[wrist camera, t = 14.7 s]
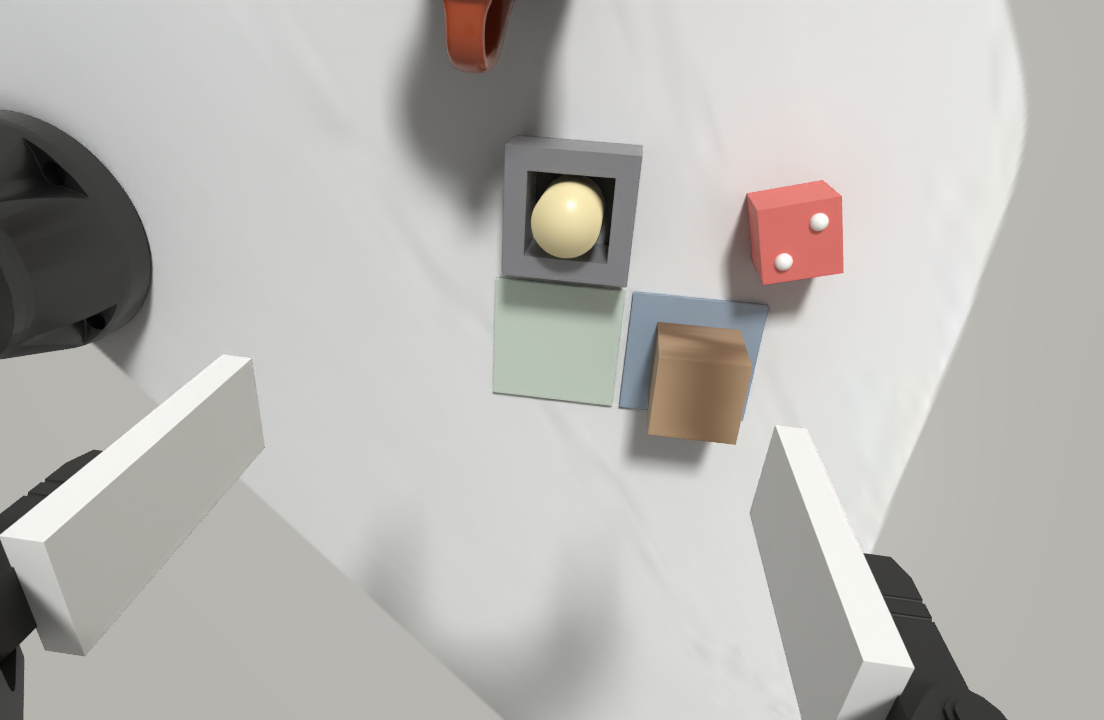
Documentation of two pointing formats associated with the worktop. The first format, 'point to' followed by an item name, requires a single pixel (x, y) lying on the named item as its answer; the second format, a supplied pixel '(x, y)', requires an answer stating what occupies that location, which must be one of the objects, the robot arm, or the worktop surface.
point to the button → (568, 216)
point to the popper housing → (574, 159)
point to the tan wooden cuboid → (698, 383)
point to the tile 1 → (556, 340)
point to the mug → (475, 32)
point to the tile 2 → (681, 311)
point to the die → (796, 232)
